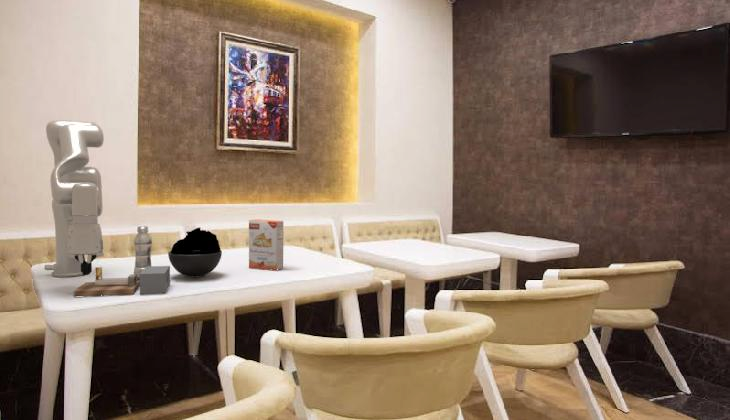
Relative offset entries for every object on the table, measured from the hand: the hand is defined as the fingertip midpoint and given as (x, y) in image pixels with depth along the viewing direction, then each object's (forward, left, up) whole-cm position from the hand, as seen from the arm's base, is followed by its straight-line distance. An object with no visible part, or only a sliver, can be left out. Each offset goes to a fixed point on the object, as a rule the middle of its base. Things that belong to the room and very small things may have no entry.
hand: (86, 274), depth 179 cm
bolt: (+9, 0, -3) cm, 10 cm away
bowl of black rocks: (+34, +21, -6) cm, 40 cm away
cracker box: (+62, +34, -6) cm, 71 cm away
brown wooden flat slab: (+7, 0, -6) cm, 9 cm away
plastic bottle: (+15, +20, -6) cm, 26 cm away
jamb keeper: (+22, 0, -6) cm, 23 cm away
